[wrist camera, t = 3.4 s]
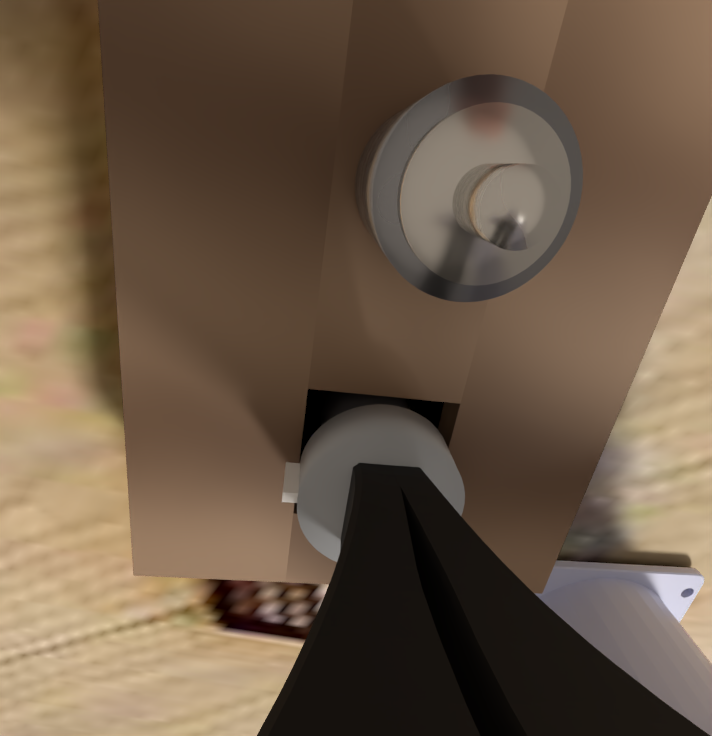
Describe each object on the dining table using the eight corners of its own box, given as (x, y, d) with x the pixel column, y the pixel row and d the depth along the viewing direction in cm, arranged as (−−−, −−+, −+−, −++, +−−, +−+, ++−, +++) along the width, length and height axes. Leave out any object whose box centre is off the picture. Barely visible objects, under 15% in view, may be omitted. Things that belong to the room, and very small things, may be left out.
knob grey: (404, 442, 15) (444, 572, 10) (289, 432, 14) (274, 564, 10) (426, 344, 14) (483, 443, 9) (300, 330, 13) (289, 426, 8)
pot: (476, 267, 9) (596, 347, 5) (345, 249, 9) (367, 320, 5) (513, 118, 8) (700, 77, 4) (366, 91, 8) (415, 19, 4)
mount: (493, 499, 17) (542, 593, 13) (177, 476, 15) (133, 575, 12) (770, -340, 9) (1091, -696, 5) (168, -543, 7) (20, -1235, 4)
